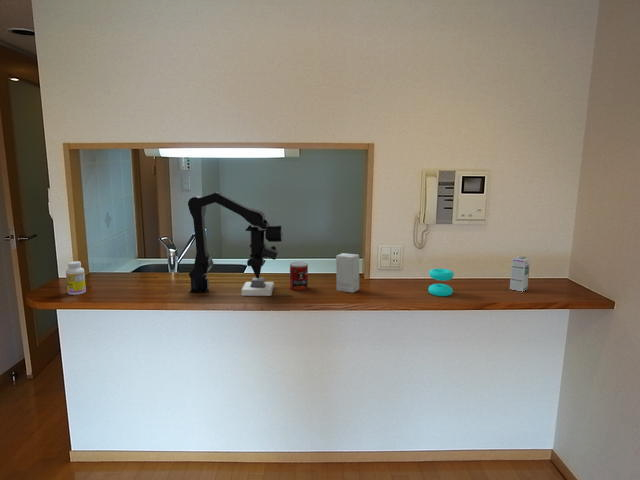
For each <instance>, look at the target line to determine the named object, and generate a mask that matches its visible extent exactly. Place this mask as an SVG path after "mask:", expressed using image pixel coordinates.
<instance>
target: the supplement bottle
mask: <svg viewBox="0 0 640 480" xmlns="http://www.w3.org/2000/svg"><path fill="white" fill-rule="evenodd" d="M67 266H68V268H67V269H66V271H65V279H66V287H67V288H66V290H67V294H68V295H71V296H77V295H81V294H82V295H83V294H85V293H86V291H87V287H86V276H85V269H84V268H83V267H81V266H82V262H81V261H78V260H76V261H74V260H73V261H69V262H67Z"/></svg>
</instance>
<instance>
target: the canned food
mask: <svg viewBox="0 0 640 480" xmlns="http://www.w3.org/2000/svg"><path fill="white" fill-rule="evenodd" d="M308 267H309V264H308V263H307V262H303V261H294V262H291V263H289V287H290V290H291V291H295V292H296V291H297V292H300V291H301V292H302V291H306V290H308V284H309V283H308V281H309V279H308V278H309V275H308V274H309V273H308V272H309V268H308Z"/></svg>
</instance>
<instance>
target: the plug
mask: <svg viewBox="0 0 640 480" xmlns="http://www.w3.org/2000/svg"><path fill="white" fill-rule="evenodd" d="M250 282H251V285H252V287H253V288H265V282H266V281H265V277H259V278H256V277H252V279H251V281H250Z"/></svg>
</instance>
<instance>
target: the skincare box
mask: <svg viewBox="0 0 640 480" xmlns="http://www.w3.org/2000/svg"><path fill="white" fill-rule="evenodd" d="M335 259H336V260H335V263H336V264H335V265H336V268H335V270H336V275H335V276H336V291H339V292H347V293H356V292H357V291H359V290H360V254H357V253H347V252H342V253H340V254H337V255H336V256H335Z"/></svg>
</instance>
